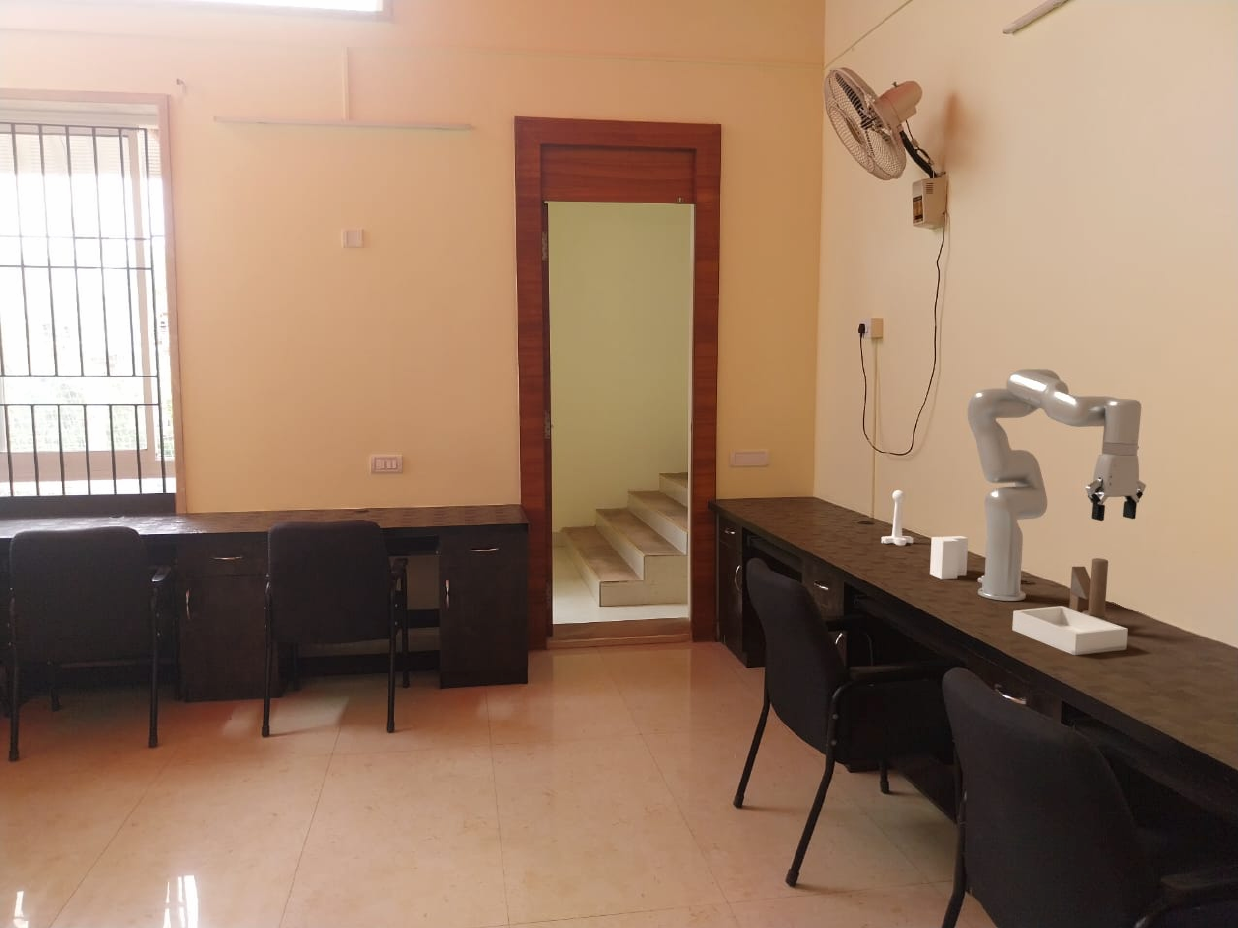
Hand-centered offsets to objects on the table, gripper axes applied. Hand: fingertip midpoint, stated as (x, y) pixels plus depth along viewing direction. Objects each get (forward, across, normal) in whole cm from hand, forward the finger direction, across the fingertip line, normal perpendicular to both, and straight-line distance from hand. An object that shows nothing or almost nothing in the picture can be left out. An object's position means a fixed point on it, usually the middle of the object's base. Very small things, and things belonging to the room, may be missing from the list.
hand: (1113, 519), depth 216 cm
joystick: (+32, -14, -108) cm, 113 cm away
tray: (+29, +14, +3) cm, 32 cm away
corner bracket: (+31, -1, -62) cm, 69 cm away
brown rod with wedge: (+29, 0, -5) cm, 30 cm away
